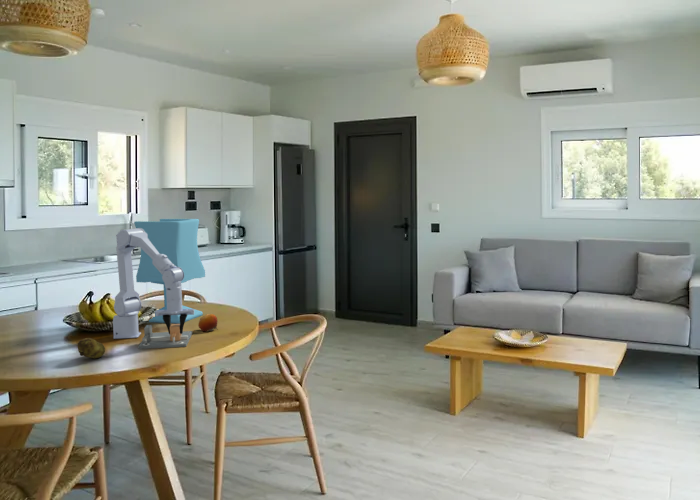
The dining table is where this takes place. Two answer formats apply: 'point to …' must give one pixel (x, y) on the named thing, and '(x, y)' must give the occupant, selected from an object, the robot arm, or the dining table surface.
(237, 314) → the dining table surface
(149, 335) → the fixed leg
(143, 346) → the board
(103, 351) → the potato
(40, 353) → the dining table surface
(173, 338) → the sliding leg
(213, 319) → the fruit
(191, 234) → the lamp with square shade
